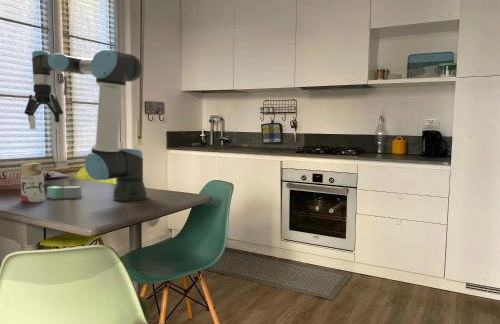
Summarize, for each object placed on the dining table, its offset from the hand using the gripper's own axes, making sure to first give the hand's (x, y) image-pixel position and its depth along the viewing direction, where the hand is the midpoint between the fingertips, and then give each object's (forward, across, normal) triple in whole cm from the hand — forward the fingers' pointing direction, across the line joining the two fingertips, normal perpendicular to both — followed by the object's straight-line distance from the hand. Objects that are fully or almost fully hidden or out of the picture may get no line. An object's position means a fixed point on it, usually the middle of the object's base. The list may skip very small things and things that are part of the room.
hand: (44, 129), depth 192 cm
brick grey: (+32, -17, +2) cm, 36 cm away
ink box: (+32, -7, +15) cm, 36 cm away
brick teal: (+32, -10, +5) cm, 34 cm away
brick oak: (+20, -6, +15) cm, 26 cm away
